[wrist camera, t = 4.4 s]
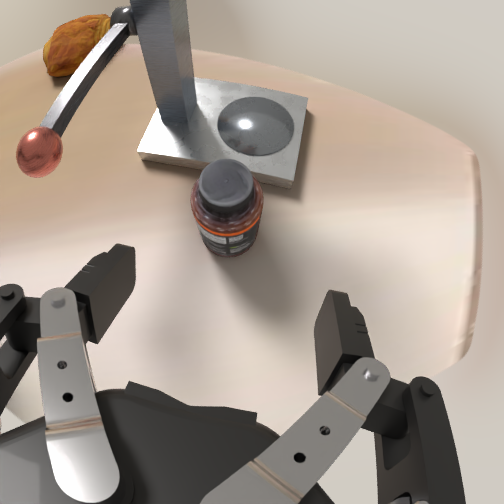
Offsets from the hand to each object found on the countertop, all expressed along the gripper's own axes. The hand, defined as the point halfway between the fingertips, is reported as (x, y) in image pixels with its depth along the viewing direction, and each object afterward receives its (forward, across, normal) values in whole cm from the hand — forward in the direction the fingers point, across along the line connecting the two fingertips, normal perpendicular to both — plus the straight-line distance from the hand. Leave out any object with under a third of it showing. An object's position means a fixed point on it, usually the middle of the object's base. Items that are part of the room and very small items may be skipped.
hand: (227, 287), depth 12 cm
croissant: (+39, -37, +13) cm, 55 cm away
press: (+28, -5, +3) cm, 29 cm away
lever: (+13, -15, +7) cm, 21 cm away
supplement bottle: (+20, -2, -7) cm, 21 cm away
